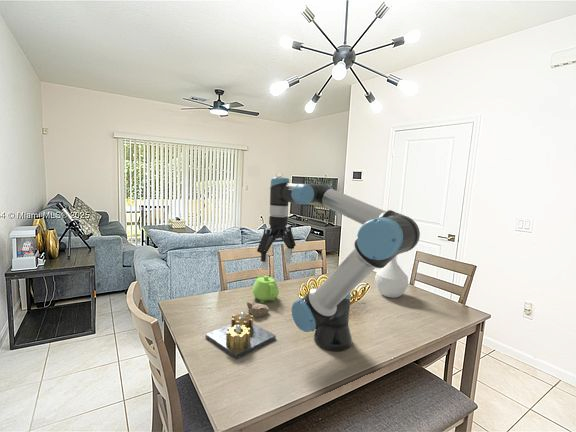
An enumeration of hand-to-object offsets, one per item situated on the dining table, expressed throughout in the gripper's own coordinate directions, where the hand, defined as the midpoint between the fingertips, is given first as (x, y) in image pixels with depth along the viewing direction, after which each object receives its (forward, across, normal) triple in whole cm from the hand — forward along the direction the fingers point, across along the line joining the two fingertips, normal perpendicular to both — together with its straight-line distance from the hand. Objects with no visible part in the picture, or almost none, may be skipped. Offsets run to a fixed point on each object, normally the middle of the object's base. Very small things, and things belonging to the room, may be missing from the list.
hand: (276, 266), depth 126 cm
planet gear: (+27, +18, -1) cm, 33 cm away
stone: (+29, -6, -18) cm, 35 cm away
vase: (+29, -80, +16) cm, 87 cm away
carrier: (+29, +14, -5) cm, 32 cm away
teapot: (+29, -21, -28) cm, 45 cm away
